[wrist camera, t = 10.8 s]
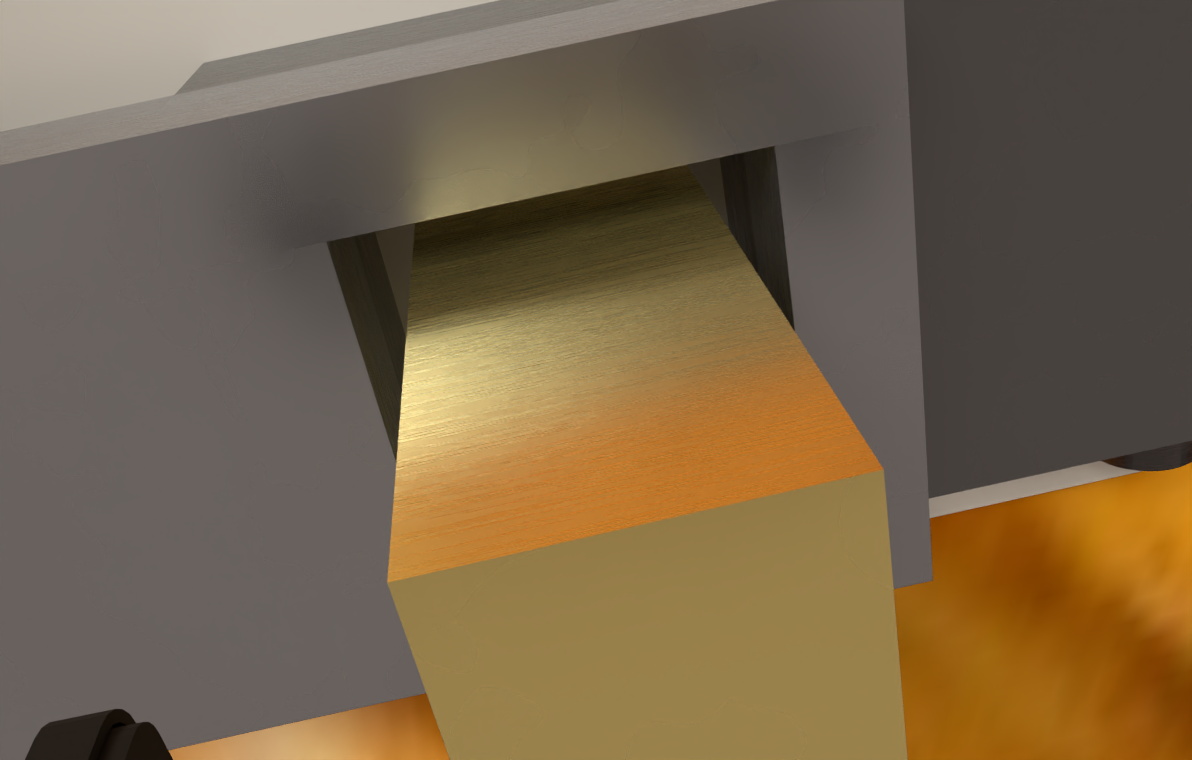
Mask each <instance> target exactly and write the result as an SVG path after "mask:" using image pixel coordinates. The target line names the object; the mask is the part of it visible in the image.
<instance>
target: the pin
mask: <svg viewBox="0 0 1192 760" xmlns="http://www.w3.org/2000/svg"><path fill="white" fill-rule="evenodd" d="M387 583H388V586H389V589H390V592H391V595H392V597H393V600H394V603H395V606H396V609H397V612H398V614H399V617H400V620H401V623H402V626H403V629H404V631H405V634H406V637H407V640H408V643H409V645H410V648H411V651H412V654H413V657H414V660H415V662H416V665H417V668H418V671H419V674H420V677H421V679H422V682H423V685H424V688H425V691H426V693H427V696H428V699H429V702H430V705H431V708H432V710H433V713H434V716H435V719H436V722H437V725H438V727H439V730H440V733H441V736H442V739H443V741H444V744H445V747H446V750H447V753H448V756H449V758H450V760H908V757H907V745H906V733H905V721H904V709H903V697H902V685H901V672H900V660H899V648H898V636H897V624H896V612H895V600H894V588H893V575H892V563H891V551H890V539H889V527H888V515H887V503H886V490H885V478H884V469H883V468H882V466H881V464H880V463H879V461H878V460H877V458H876V457H875V455H874V454H873V452H872V451H871V449H870V447H869V446H868V444H867V443H866V441H865V440H864V438H863V437H862V435H861V433H860V432H859V430H858V429H857V427H856V426H855V424H854V423H853V421H852V420H851V418H850V416H849V415H848V413H847V412H846V410H845V409H844V407H843V406H842V404H841V402H840V401H839V399H838V398H837V396H836V395H835V393H834V392H833V390H832V389H831V387H830V385H829V384H828V382H827V381H826V379H825V378H824V376H823V375H822V373H821V371H820V370H819V368H818V367H817V365H816V364H815V362H814V361H813V359H812V358H811V356H810V354H809V353H808V351H807V350H806V348H805V347H804V345H803V344H802V342H801V340H800V339H799V337H798V336H797V334H796V333H795V331H794V330H793V328H792V327H791V325H790V323H789V322H788V320H787V319H786V317H785V316H784V314H783V313H782V311H781V309H780V308H779V306H778V305H777V303H776V302H775V300H774V299H773V297H772V296H771V294H770V292H769V291H768V289H767V288H766V286H765V285H764V283H763V282H762V280H761V278H760V277H759V275H758V274H757V272H756V271H755V269H754V268H753V266H752V264H751V263H750V261H749V260H748V258H747V257H746V255H745V254H744V252H743V251H742V249H741V247H740V246H739V244H738V243H737V241H736V240H735V238H734V237H733V235H732V233H731V232H730V230H729V229H728V227H727V226H726V224H725V223H724V221H723V220H722V218H721V216H720V215H719V213H718V212H717V210H716V209H715V207H714V206H713V204H712V202H711V201H710V199H709V198H708V196H707V195H706V193H705V192H704V190H703V189H702V187H701V185H700V184H699V182H698V181H697V179H696V178H695V176H694V175H693V173H692V171H691V170H690V168H689V167H688V165H682V166H678V167H673V168H668V169H664V170H659V171H654V172H650V173H645V174H640V175H636V176H631V177H626V178H622V179H617V180H612V181H608V182H603V183H598V184H594V185H589V186H585V187H580V188H575V189H571V190H566V191H561V192H557V193H552V194H547V195H543V196H538V197H533V198H529V199H524V200H519V201H515V202H510V203H505V204H501V205H496V206H491V207H487V208H482V209H477V210H473V211H468V212H463V213H459V214H454V215H449V216H445V217H440V218H435V219H431V220H426V221H421V222H417V223H415V229H414V242H413V255H412V268H411V281H410V294H409V307H408V320H407V333H406V346H405V359H404V372H403V385H402V398H401V411H400V424H399V437H398V450H397V463H396V476H395V489H394V502H393V515H392V527H391V540H390V553H389V566H388V579H387Z"/></svg>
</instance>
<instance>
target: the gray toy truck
mask: <svg viewBox="0 0 1192 760" xmlns="http://www.w3.org/2000/svg"><path fill="white" fill-rule="evenodd" d="M715 158H720V165H721V173H722V180H723V188H724V195H725V202H726V210H727V217H728V225H729V230H730V232H731V233H732V235H733V237H734V238H735V240H736V241H737V243H738V244H739V246H740V247H741V249H742V251H743V252H744V254H745V255H746V257H747V258H748V260H749V261H750V263H751V264H752V266H753V268H754V269H755V271H756V272H757V274H758V275H759V277H760V278H761V280H762V282H763V283H764V285H765V286H766V288H767V289H768V291H769V292H770V294H771V296H772V297H773V299H774V300H775V302H776V303H777V305H778V306H779V308H780V309H781V311H782V313H783V314H784V316H785V317H786V319H787V320H788V322H789V323H790V325H791V327H792V328H793V330H794V331H795V333H796V334H797V336H798V337H799V339H800V340H801V342H802V344H803V345H804V347H805V348H806V350H807V351H808V353H809V354H810V356H811V358H812V359H813V361H814V362H815V364H816V365H817V367H818V368H819V370H820V371H821V373H822V375H823V376H824V378H825V379H826V381H827V382H828V384H829V385H830V387H831V389H832V390H833V392H834V393H835V395H836V396H837V398H838V399H839V401H840V402H841V404H842V406H843V407H844V409H845V410H846V412H847V413H848V415H849V416H850V418H851V420H852V421H853V423H854V424H855V426H856V427H857V429H858V430H859V432H860V433H861V435H862V437H863V438H864V440H865V441H866V443H867V444H868V446H869V447H870V449H871V451H872V452H873V454H874V455H875V457H876V458H877V460H878V461H879V463H880V464H881V466H882V468H883V469H884V478H885V490H886V503H887V515H888V527H889V539H890V551H891V563H892V575H893V588H894V589H896V588H901V587H905V586H910V585H914V584H919V583H923V582H928V581H932V580H933V575H932V555H931V535H930V515H929V499H930V498H934V497H939V496H943V495H948V494H952V493H957V492H961V491H966V490H970V489H975V488H979V487H984V486H989V485H993V484H998V483H1002V482H1007V481H1011V480H1016V479H1020V478H1025V477H1029V476H1034V475H1038V474H1043V473H1047V472H1052V471H1056V470H1061V469H1066V468H1070V467H1075V466H1079V465H1084V464H1088V463H1093V462H1097V461H1102V462H1105V463H1107V464H1109V465H1112V466H1116V467H1119V468H1123V469H1129V470H1137V471H1162V470H1169V469H1174V468H1178V467H1181V466H1184V465H1186V464H1188V463H1190V462H1192V0H498V1H494V2H489V3H484V4H479V5H475V6H470V7H465V8H460V9H456V10H451V11H446V12H442V13H437V14H432V15H427V16H423V17H418V18H413V19H408V20H404V21H399V22H394V23H389V24H385V25H380V26H375V27H371V28H366V29H361V30H356V31H352V32H347V33H342V34H337V35H333V36H328V37H323V38H319V39H314V40H309V41H304V42H300V43H295V44H290V45H285V46H281V47H276V48H271V49H266V50H262V51H257V52H252V53H248V54H243V55H238V56H233V57H229V58H224V59H219V60H214V61H210V62H205V63H203V64H202V65H201V66H200V67H199V68H198V69H197V71H196V72H195V73H194V74H193V75H192V76H191V77H190V78H189V79H188V80H187V82H186V83H185V84H184V85H183V86H182V87H181V88H180V89H179V90H178V91H177V93H176V94H175V95H172V96H168V97H163V98H158V99H153V100H149V101H144V102H139V103H135V104H130V105H125V106H120V107H116V108H111V109H106V110H102V111H97V112H92V113H87V114H83V115H78V116H73V117H68V118H64V119H59V120H54V121H50V122H45V123H40V124H35V125H31V126H26V127H21V128H17V129H12V130H7V131H2V132H0V760H25V758H26V756H27V754H28V752H29V749H30V747H31V745H32V743H33V741H34V739H35V737H36V735H37V734H38V732H39V731H40V729H41V728H42V727H43V726H45V725H46V724H48V723H49V722H53V721H58V720H63V719H68V718H73V717H78V716H83V715H88V714H92V713H97V712H102V711H107V710H112V709H123V710H125V711H126V712H128V713H129V714H130V715H131V716H132V718H133V719H134V720H135V722H136V723H140V722H150V723H151V724H153V725H154V726H155V728H156V729H157V730H158V732H159V734H160V736H161V737H162V739H163V741H164V743H165V745H166V747H167V749H168V750H172V749H176V748H181V747H185V746H190V745H194V744H199V743H203V742H208V741H212V740H217V739H221V738H226V737H230V736H235V735H239V734H244V733H248V732H253V731H257V730H262V729H266V728H271V727H275V726H280V725H284V724H289V723H293V722H298V721H302V720H307V719H311V718H316V717H320V716H325V715H329V714H334V713H338V712H343V711H347V710H352V709H356V708H361V707H365V706H370V705H374V704H379V703H383V702H388V701H392V700H397V699H401V698H406V697H410V696H415V695H419V694H424V693H426V691H425V688H424V685H423V682H422V679H421V677H420V674H419V671H418V668H417V665H416V662H415V660H414V657H413V654H412V651H411V648H410V645H409V643H408V640H407V637H406V634H405V631H404V629H403V626H402V623H401V620H400V617H399V614H398V612H397V609H396V606H395V603H394V600H393V597H392V595H391V592H390V589H389V586H388V583H387V579H388V566H389V553H390V540H391V527H392V515H393V502H394V489H395V476H396V463H397V450H398V437H399V424H400V411H401V398H402V385H403V372H404V359H405V346H406V336H405V332H404V329H403V326H402V322H401V319H400V315H399V312H398V309H397V305H396V302H395V298H394V295H393V292H392V288H391V285H390V281H389V278H388V275H387V271H386V268H385V264H384V261H383V258H382V254H381V251H380V247H379V244H378V241H377V237H376V234H375V231H380V230H384V229H389V228H394V227H398V226H403V225H407V224H412V223H417V222H421V221H426V220H431V219H435V218H440V217H445V216H449V215H454V214H459V213H463V212H468V211H473V210H477V209H482V208H487V207H491V206H496V205H501V204H505V203H510V202H515V201H519V200H524V199H529V198H533V197H538V196H543V195H547V194H552V193H557V192H561V191H566V190H571V189H575V188H580V187H585V186H589V185H594V184H598V183H603V182H608V181H612V180H617V179H622V178H626V177H631V176H636V175H640V174H645V173H650V172H654V171H659V170H664V169H668V168H673V167H678V166H682V165H687V164H692V163H696V162H701V161H706V160H710V159H715Z"/></svg>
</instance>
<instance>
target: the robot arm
mask: <svg viewBox="0 0 1192 760" xmlns="http://www.w3.org/2000/svg"><path fill="white" fill-rule="evenodd" d="M25 760H173V759H172V757H171V755H170V753H169V751H168V749H167V747H166V745H165V743H164V741H163V739H162V737H161V736H160V734H159V732H158V730H157V729H156V728H155V726H154V725H153V724H151V723H150V722H140V723H136V722H135V720H134V719H133V718H132V716H131V715H130V714H129V713H128V712H126V711H125V710H123V709H112V710H107V711H102V712H97V713H92V714H88V715H83V716H78V717H73V718H68V719H63V720H58V721H53V722H49V723H48V724H46V725H45V726H43V727H42V728H41V729H40V731H39V732H38V734H37V735H36V737H35V739H34V741H33V743H32V745H31V747H30V749H29V752H28V754H27V756H26V758H25Z"/></svg>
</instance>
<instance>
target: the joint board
mask: <svg viewBox="0 0 1192 760" xmlns="http://www.w3.org/2000/svg"><path fill="white" fill-rule="evenodd" d="M494 1H498V0H0V132H2V131H7V130H12V129H17V128H21V127H26V126H31V125H35V124H40V123H45V122H50V121H54V120H59V119H64V118H68V117H73V116H78V115H83V114H87V113H92V112H97V111H102V110H106V109H111V108H116V107H120V106H125V105H130V104H135V103H139V102H144V101H149V100H153V99H158V98H163V97H168V96H172V95H175V94H176V93H177V91H178V90H179V89H180V88H181V87H182V86H183V85H184V84H185V83H186V82H187V80H188V79H189V78H190V77H191V76H192V75H193V74H194V73H195V72H196V71H197V69H198V68H199V67H200V66H201V65H202V64H203V63H205V62H210V61H214V60H219V59H224V58H229V57H233V56H238V55H243V54H248V53H252V52H257V51H262V50H266V49H271V48H276V47H281V46H285V45H290V44H295V43H300V42H304V41H309V40H314V39H319V38H323V37H328V36H333V35H337V34H342V33H347V32H352V31H356V30H361V29H366V28H371V27H375V26H380V25H385V24H389V23H394V22H399V21H404V20H408V19H413V18H418V17H423V16H427V15H432V14H437V13H442V12H446V11H451V10H456V9H460V8H465V7H470V6H475V5H479V4H484V3H489V2H494ZM687 165H688V167H689V168H690V170H691V171H692V173H693V175H694V176H695V178H696V179H697V181H698V182H699V184H700V185H701V187H702V189H703V190H704V192H705V193H706V195H707V196H708V198H709V199H710V201H711V202H712V204H713V206H714V207H715V209H716V210H717V212H718V213H719V215H720V216H721V218H722V220H723V221H724V223H725V224H726V226H727V227H728V229H729V225H728V217H727V210H726V202H725V195H724V188H723V180H722V173H721V165H720V158H715V159H710V160H706V161H701V162H696V163H692V164H687ZM414 229H415V223H412V224H407V225H403V226H398V227H394V228H389V229H384V230H380V231H375V234H376V237H377V241H378V244H379V247H380V251H381V254H382V258H383V261H384V264H385V268H386V271H387V275H388V278H389V281H390V285H391V288H392V292H393V295H394V298H395V302H396V305H397V309H398V312H399V315H400V319H401V322H402V326H403V329H404V332H405V336H406V333H407V320H408V307H409V294H410V281H411V268H412V255H413V242H414ZM1136 472H1141V471H1137V470H1129V469H1123V468H1119V467H1116V466H1112V465H1109V464H1107V463H1105V462H1102V461H1097V462H1093V463H1088V464H1084V465H1079V466H1075V467H1070V468H1066V469H1061V470H1056V471H1052V472H1047V473H1043V474H1038V475H1034V476H1029V477H1025V478H1020V479H1016V480H1011V481H1007V482H1002V483H998V484H993V485H989V486H984V487H979V488H975V489H970V490H966V491H961V492H957V493H952V494H948V495H943V496H939V497H934V498H930V499H929V515H930V518H933V517H937V516H942V515H946V514H951V513H955V512H960V511H964V510H969V509H973V508H978V507H982V506H987V505H992V504H996V503H1001V502H1005V501H1010V500H1014V499H1019V498H1023V497H1028V496H1032V495H1037V494H1041V493H1046V492H1050V491H1055V490H1059V489H1064V488H1068V487H1073V486H1077V485H1082V484H1086V483H1091V482H1096V481H1100V480H1105V479H1109V478H1114V477H1118V476H1123V475H1127V474H1132V473H1136Z"/></svg>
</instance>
